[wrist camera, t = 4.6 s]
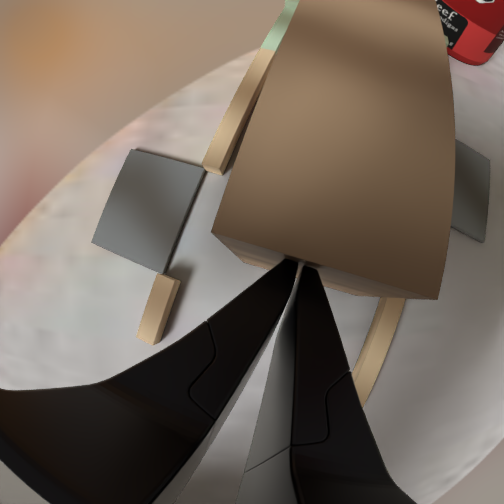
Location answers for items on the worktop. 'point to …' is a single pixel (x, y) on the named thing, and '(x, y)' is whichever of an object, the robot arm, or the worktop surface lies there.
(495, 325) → the worktop surface
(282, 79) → the walnut block
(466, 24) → the canned food
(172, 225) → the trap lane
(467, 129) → the worktop surface
